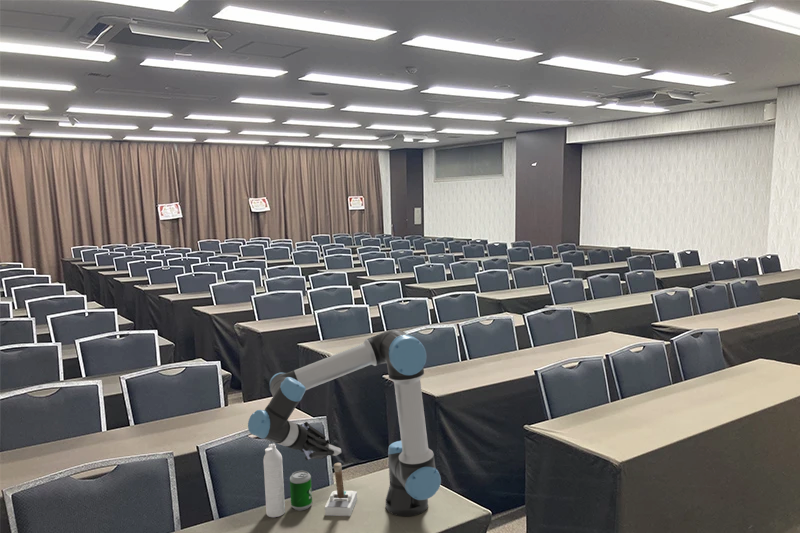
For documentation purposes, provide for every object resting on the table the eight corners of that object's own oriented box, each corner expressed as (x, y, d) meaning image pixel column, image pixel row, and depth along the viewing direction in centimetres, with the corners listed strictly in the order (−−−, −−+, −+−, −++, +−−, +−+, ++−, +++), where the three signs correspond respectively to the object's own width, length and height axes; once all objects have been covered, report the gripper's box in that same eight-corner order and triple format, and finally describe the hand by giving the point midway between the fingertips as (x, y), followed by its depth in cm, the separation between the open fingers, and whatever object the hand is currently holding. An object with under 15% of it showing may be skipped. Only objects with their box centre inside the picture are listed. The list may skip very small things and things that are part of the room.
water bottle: (269, 508, 204) (265, 440, 202) (287, 508, 204) (283, 440, 202) (262, 521, 195) (258, 450, 194) (281, 521, 195) (277, 450, 193)
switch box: (357, 499, 209) (356, 487, 208) (350, 516, 197) (349, 503, 196) (333, 498, 210) (332, 486, 209) (325, 515, 198) (324, 502, 197)
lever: (348, 495, 204) (345, 462, 200) (347, 500, 202) (343, 467, 198) (335, 495, 205) (331, 462, 201) (333, 500, 202) (330, 467, 198)
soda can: (307, 512, 200) (306, 479, 199) (287, 511, 202) (286, 478, 201) (315, 502, 208) (313, 470, 207) (296, 500, 209) (294, 469, 208)
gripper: (279, 422, 184) (326, 440, 200) (284, 459, 175) (333, 475, 192) (296, 411, 182) (343, 430, 198) (302, 448, 173) (350, 465, 189)
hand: (338, 452), depth 195 cm, fingers closed
